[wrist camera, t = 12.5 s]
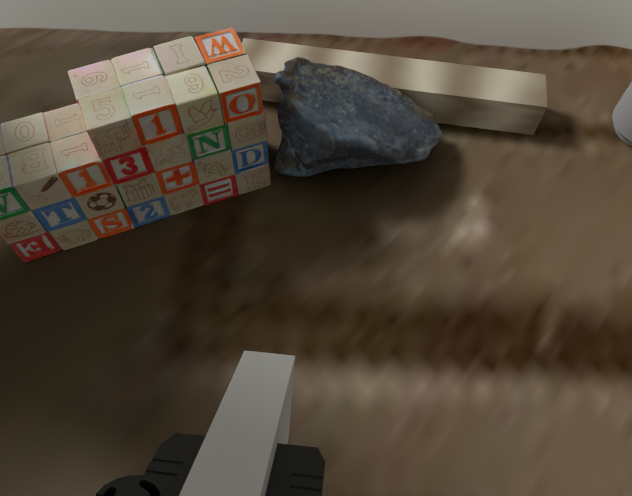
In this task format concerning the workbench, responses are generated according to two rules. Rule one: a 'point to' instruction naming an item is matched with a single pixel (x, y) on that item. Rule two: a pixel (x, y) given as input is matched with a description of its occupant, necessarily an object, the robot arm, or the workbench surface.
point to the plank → (424, 84)
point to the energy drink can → (624, 117)
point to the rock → (346, 121)
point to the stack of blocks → (134, 145)
